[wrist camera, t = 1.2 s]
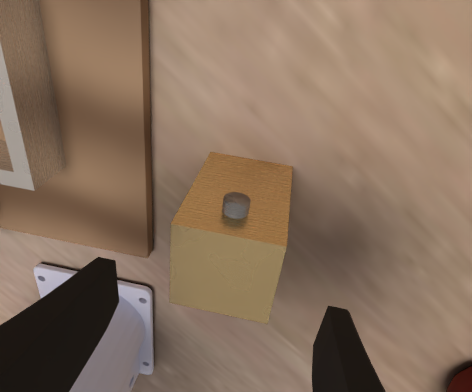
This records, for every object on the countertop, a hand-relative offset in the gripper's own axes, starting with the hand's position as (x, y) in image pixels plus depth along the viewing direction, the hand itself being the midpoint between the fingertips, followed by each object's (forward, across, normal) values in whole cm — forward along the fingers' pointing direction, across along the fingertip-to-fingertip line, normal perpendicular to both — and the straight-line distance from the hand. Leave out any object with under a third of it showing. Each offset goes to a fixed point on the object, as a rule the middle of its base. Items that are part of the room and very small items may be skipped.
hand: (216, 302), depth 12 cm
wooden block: (+7, 0, 0) cm, 7 cm away
